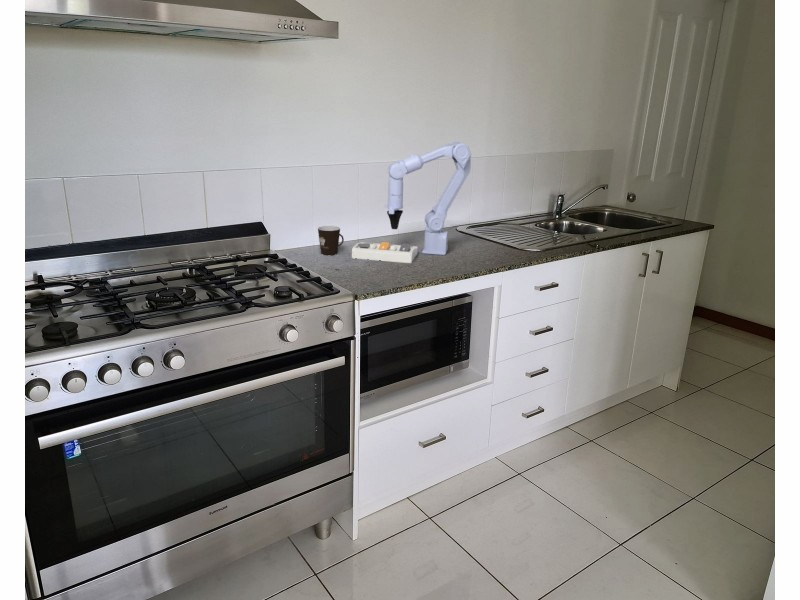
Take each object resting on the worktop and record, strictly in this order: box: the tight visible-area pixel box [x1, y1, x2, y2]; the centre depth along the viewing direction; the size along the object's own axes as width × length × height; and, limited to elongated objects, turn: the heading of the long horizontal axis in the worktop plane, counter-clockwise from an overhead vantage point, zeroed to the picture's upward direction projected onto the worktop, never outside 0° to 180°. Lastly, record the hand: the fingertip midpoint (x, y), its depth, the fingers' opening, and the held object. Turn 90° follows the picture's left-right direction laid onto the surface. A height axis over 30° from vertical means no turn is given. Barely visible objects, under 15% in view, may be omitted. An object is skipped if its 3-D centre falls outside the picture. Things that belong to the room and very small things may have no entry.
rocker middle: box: [378, 241, 390, 250], centre depth 220 cm, size 3×6×2 cm, turn 169°
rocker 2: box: [399, 243, 411, 252], centre depth 219 cm, size 3×6×2 cm, turn 169°
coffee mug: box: [317, 225, 345, 256], centre depth 222 cm, size 12×9×10 cm
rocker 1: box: [358, 242, 370, 248], centre depth 221 cm, size 3×6×2 cm, turn 169°
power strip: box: [351, 241, 419, 264], centre depth 223 cm, size 23×14×4 cm, turn 79°
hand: (394, 228), depth 227 cm, fingers closed
